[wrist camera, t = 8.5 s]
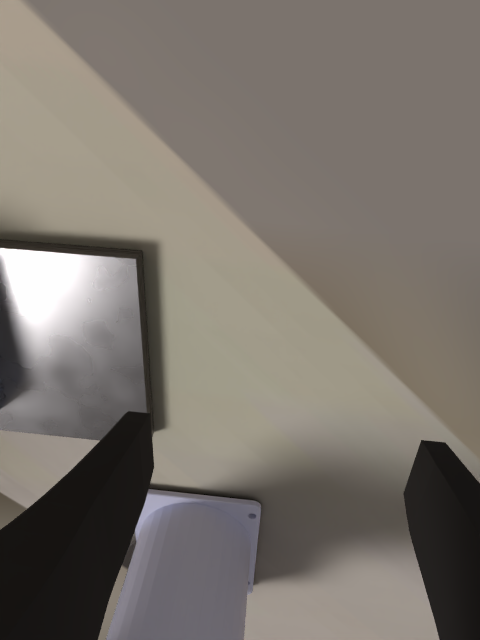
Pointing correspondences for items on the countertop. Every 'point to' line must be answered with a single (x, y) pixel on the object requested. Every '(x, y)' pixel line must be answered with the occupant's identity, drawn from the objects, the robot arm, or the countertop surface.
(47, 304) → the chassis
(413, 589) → the countertop surface
